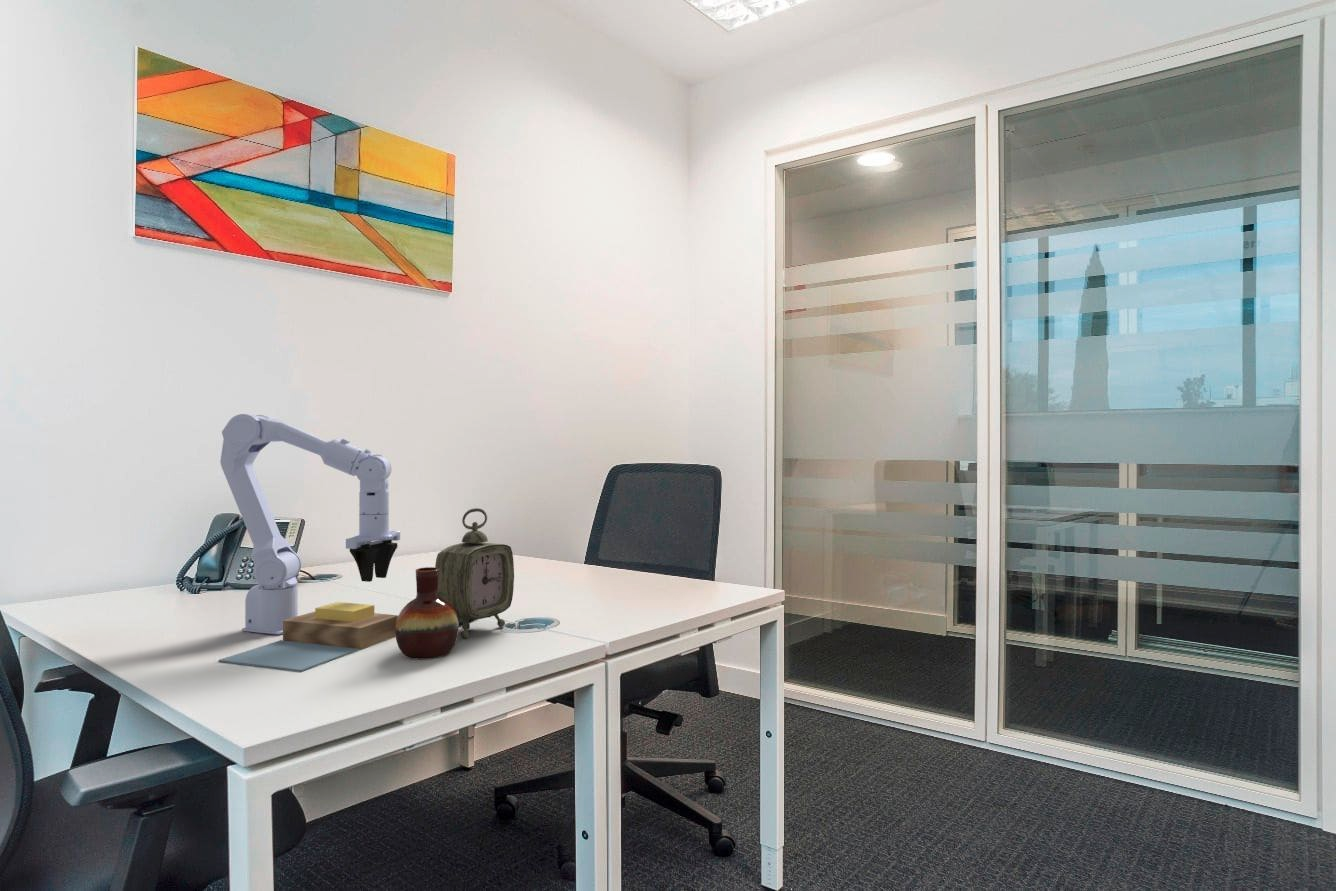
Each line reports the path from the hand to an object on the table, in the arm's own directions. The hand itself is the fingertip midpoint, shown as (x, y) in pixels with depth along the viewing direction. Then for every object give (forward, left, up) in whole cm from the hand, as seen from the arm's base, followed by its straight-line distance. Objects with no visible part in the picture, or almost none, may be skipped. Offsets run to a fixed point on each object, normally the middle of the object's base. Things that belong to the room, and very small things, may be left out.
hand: (373, 579), depth 163 cm
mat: (0, -23, -10) cm, 25 cm away
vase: (+22, -13, -10) cm, 28 cm away
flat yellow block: (0, -9, -6) cm, 10 cm away
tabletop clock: (+21, +4, -10) cm, 24 cm away
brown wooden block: (0, -10, -10) cm, 14 cm away
